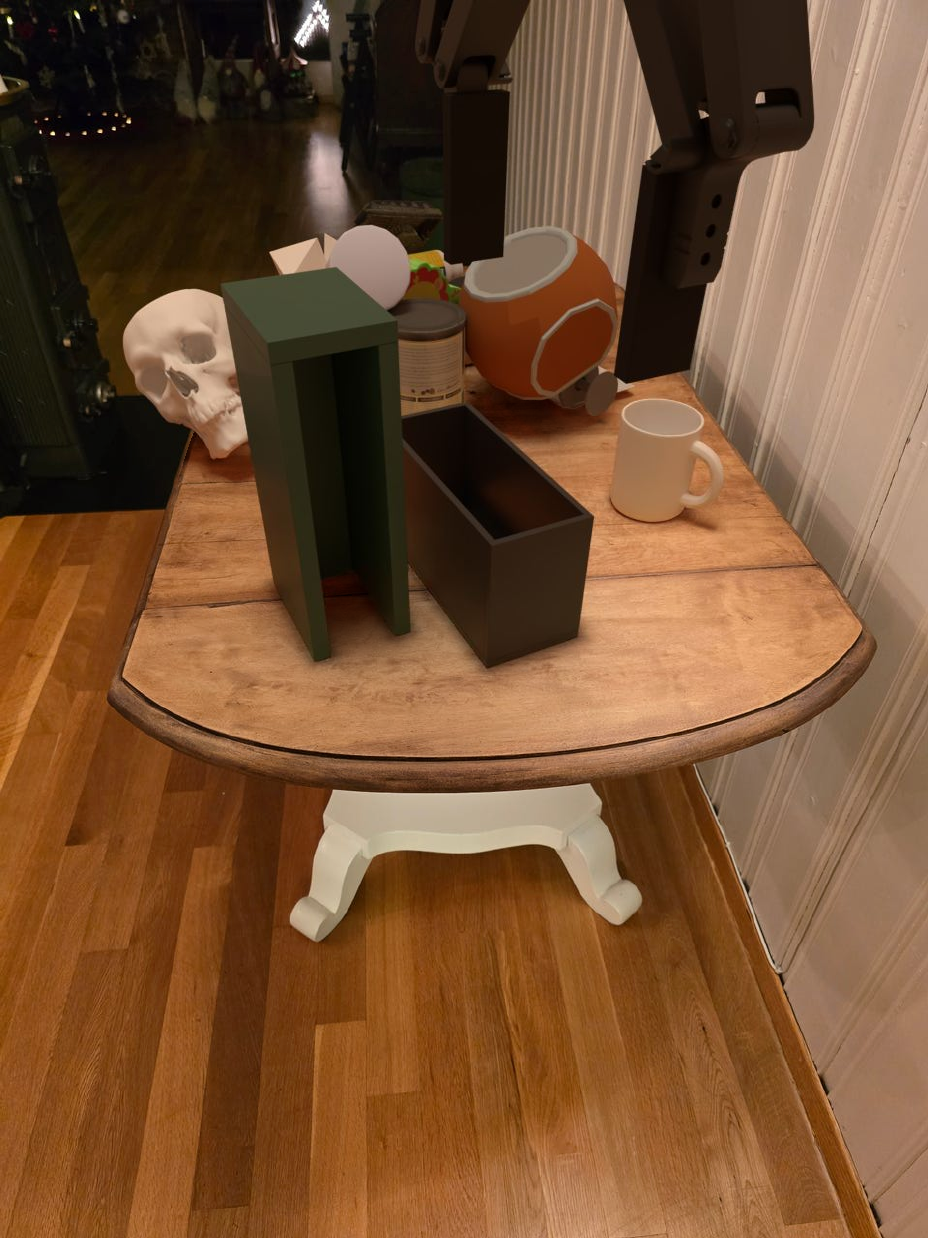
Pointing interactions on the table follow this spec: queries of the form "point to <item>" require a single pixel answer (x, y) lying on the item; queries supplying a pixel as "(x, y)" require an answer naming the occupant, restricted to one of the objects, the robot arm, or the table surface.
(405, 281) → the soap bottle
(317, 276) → the stand
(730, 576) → the table surface
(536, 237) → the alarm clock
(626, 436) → the mug
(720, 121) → the robot arm
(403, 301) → the coffee can
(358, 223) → the toy tank
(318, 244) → the white folded paper piece
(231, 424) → the white skull
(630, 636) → the table surface
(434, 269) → the taco
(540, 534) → the black open rectangular box
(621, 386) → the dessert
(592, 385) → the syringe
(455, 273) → the pill bottle
